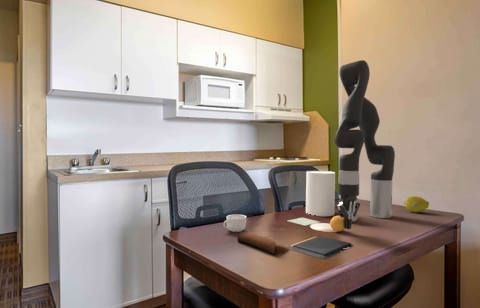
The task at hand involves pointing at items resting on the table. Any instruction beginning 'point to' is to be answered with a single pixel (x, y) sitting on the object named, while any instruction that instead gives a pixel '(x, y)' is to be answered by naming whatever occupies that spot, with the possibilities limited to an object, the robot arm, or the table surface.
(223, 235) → the table surface
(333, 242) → the wallet
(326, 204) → the canister
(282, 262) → the table surface
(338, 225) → the ball
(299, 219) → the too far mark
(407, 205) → the lemon
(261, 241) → the sunglasses case
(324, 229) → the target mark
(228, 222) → the teacup
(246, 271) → the table surface
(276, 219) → the table surface
